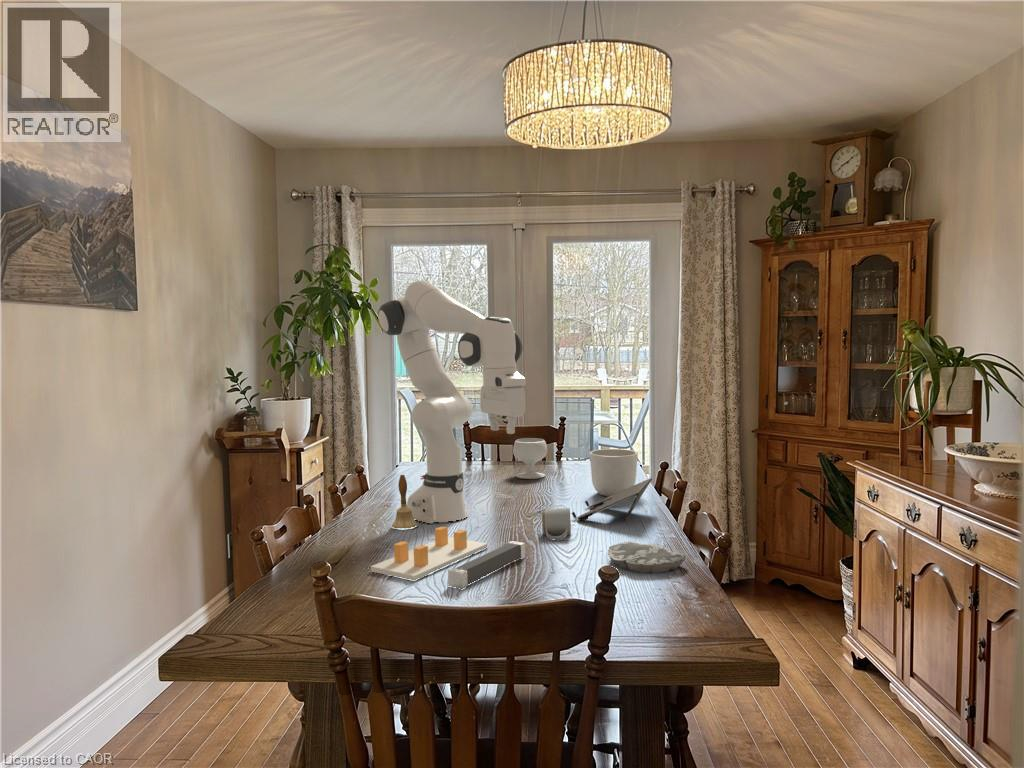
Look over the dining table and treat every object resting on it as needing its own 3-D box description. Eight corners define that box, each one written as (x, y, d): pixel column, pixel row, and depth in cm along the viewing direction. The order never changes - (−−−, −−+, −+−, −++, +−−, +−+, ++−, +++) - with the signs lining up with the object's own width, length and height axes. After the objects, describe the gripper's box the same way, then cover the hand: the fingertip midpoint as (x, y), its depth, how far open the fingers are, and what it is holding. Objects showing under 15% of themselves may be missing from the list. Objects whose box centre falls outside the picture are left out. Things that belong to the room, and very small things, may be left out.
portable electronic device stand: (599, 523, 239) (587, 498, 240) (661, 497, 231) (648, 471, 232) (581, 543, 218) (568, 515, 218) (648, 515, 209) (634, 486, 210)
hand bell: (397, 532, 211) (396, 478, 210) (386, 526, 218) (384, 474, 217) (423, 527, 216) (421, 475, 215) (411, 521, 223) (409, 471, 222)
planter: (636, 489, 263) (635, 448, 262) (639, 500, 246) (639, 456, 245) (589, 489, 265) (589, 448, 264) (590, 499, 248) (589, 456, 247)
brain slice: (590, 565, 179) (590, 553, 179) (630, 549, 191) (630, 538, 191) (656, 583, 165) (656, 570, 165) (695, 565, 177) (695, 554, 177)
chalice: (507, 475, 293) (507, 439, 292) (538, 472, 299) (537, 436, 298) (522, 481, 280) (521, 443, 279) (553, 478, 286) (553, 441, 285)
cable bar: (448, 587, 164) (448, 570, 164) (512, 555, 187) (512, 540, 187) (462, 590, 162) (461, 573, 162) (525, 558, 185) (525, 543, 184)
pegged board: (370, 572, 176) (370, 548, 175) (446, 541, 201) (446, 520, 200) (414, 582, 168) (413, 557, 167) (487, 548, 193) (487, 527, 193)
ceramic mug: (543, 530, 210) (542, 505, 209) (570, 530, 209) (570, 505, 209) (541, 541, 200) (541, 514, 199) (571, 541, 199) (570, 514, 198)
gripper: (473, 378, 193) (475, 429, 194) (506, 380, 175) (508, 436, 175) (494, 377, 196) (496, 427, 196) (528, 379, 177) (531, 434, 178)
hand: (502, 432), depth 186 cm, fingers open, 8 cm apart
